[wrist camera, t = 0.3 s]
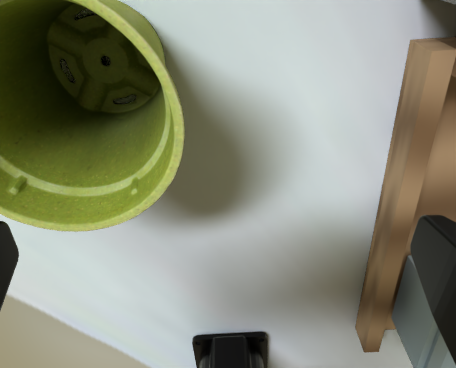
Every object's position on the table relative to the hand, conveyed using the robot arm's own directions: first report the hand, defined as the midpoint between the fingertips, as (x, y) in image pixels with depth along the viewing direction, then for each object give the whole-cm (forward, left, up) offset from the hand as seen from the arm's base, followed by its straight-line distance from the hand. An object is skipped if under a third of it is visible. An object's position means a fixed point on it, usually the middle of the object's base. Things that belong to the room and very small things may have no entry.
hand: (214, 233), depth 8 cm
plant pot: (0, +6, -15) cm, 16 cm away
